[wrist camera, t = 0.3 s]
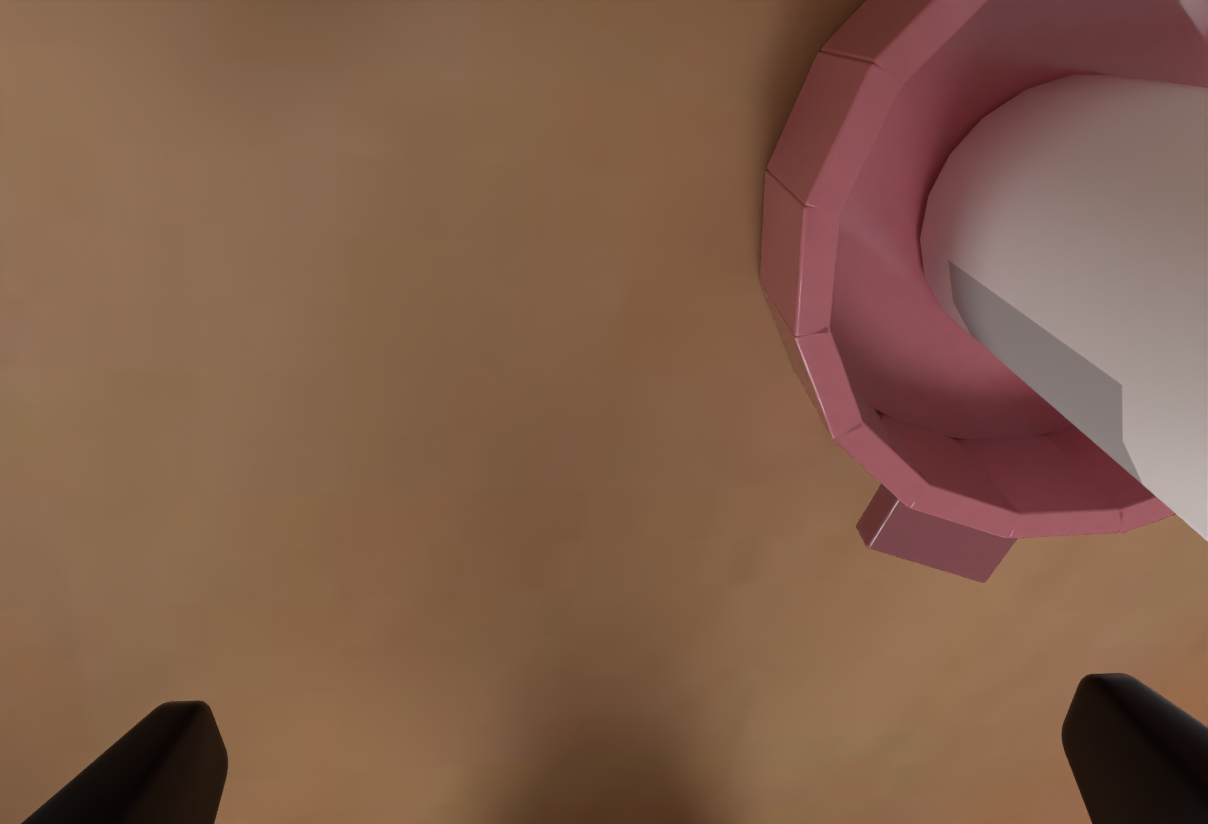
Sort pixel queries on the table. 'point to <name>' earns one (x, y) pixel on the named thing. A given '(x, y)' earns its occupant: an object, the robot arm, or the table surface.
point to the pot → (896, 274)
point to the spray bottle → (1090, 264)
